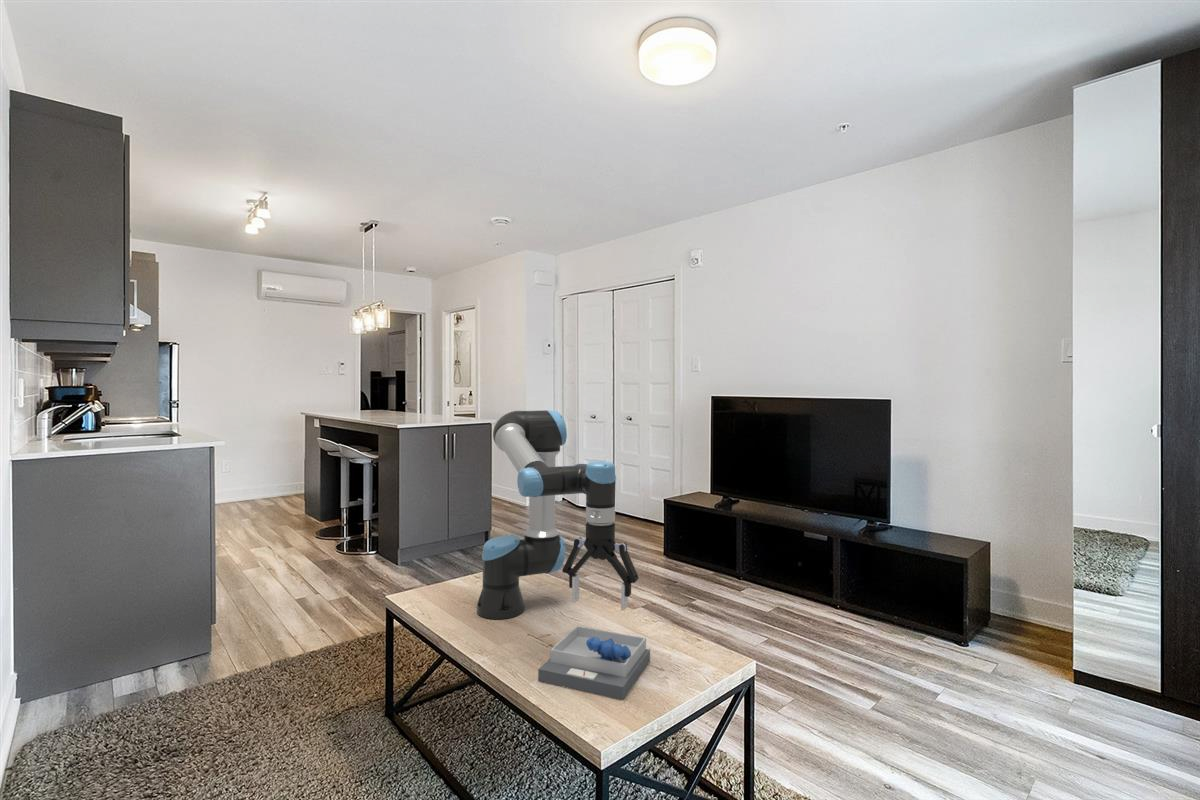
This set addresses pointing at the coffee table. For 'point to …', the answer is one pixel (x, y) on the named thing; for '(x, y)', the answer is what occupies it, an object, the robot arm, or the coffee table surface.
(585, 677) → the scale
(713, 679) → the coffee table surface
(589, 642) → the grapes
